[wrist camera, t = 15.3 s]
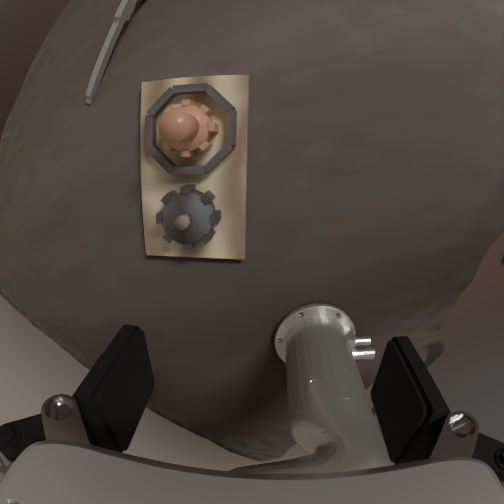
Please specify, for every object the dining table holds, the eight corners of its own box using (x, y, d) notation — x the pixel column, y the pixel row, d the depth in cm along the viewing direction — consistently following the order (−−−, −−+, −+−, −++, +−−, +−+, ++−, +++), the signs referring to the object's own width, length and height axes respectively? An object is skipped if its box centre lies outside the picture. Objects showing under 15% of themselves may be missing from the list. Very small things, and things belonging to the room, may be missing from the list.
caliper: (150, -13, 29) (134, -30, 23) (156, -12, 29) (140, -30, 23) (87, 103, 35) (62, 99, 30) (92, 105, 36) (67, 101, 30)
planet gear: (219, 101, 34) (207, 91, 27) (218, 155, 36) (205, 157, 29) (166, 104, 34) (143, 96, 27) (165, 156, 36) (142, 159, 29)
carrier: (249, 77, 34) (245, 64, 28) (245, 256, 42) (241, 274, 36) (145, 84, 34) (125, 75, 28) (149, 252, 42) (132, 268, 36)
